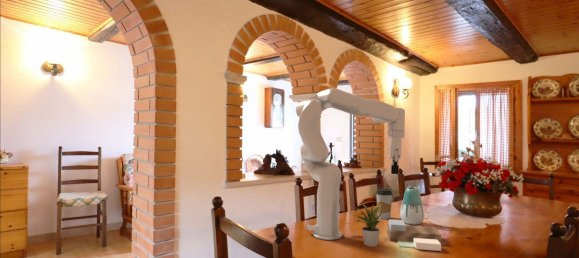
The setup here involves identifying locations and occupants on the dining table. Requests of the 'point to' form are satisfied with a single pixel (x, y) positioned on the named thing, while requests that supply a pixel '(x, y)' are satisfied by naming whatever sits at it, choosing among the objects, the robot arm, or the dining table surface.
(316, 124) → the robot arm
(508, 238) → the dining table surface
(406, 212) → the vase
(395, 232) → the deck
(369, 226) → the house plant
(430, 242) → the cream block
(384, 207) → the coffee cup
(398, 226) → the gray rectangular block
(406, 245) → the mat
